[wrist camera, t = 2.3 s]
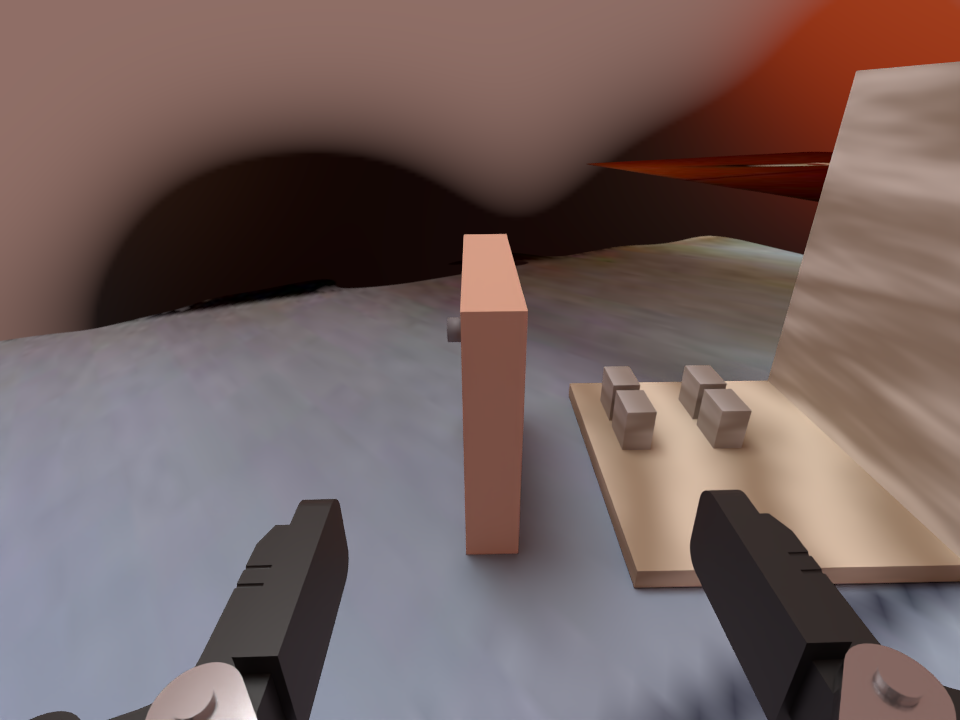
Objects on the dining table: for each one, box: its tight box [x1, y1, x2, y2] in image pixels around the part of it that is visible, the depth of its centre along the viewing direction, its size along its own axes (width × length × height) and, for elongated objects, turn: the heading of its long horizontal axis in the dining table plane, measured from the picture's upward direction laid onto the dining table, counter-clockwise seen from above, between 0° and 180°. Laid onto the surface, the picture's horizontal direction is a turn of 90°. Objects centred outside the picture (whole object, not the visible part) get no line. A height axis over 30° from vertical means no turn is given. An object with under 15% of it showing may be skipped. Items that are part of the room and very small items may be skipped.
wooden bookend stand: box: [569, 62, 960, 588], centre depth 24 cm, size 16×16×20 cm
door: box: [447, 234, 528, 554], centre depth 26 cm, size 3×12×12 cm, turn 1°
